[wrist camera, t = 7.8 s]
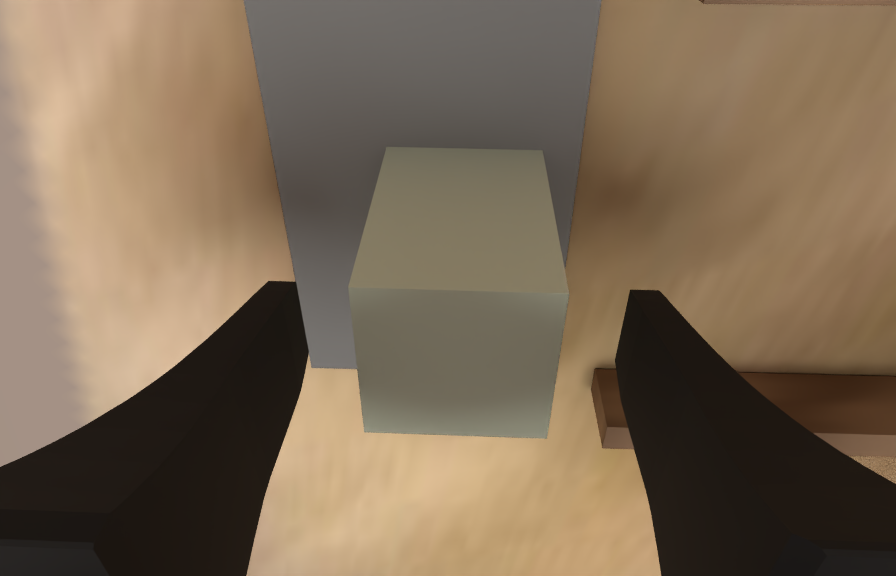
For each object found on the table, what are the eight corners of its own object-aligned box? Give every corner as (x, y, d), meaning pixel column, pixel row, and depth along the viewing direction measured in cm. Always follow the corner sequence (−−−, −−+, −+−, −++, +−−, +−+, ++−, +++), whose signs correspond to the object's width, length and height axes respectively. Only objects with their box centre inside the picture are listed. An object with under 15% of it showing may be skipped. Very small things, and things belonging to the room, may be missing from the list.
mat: (602, -25, 14) (604, -22, 14) (550, 367, 21) (551, 373, 21) (243, -27, 14) (239, -24, 14) (313, 361, 21) (311, 367, 21)
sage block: (542, 149, 16) (569, 294, 11) (529, 276, 19) (546, 438, 14) (386, 146, 16) (347, 287, 11) (393, 272, 19) (364, 432, 14)
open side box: (1276, -75, 13) (1422, -54, 11) (948, 399, 21) (996, 459, 19) (681, -77, 13) (716, -57, 11) (591, 389, 22) (602, 448, 20)
